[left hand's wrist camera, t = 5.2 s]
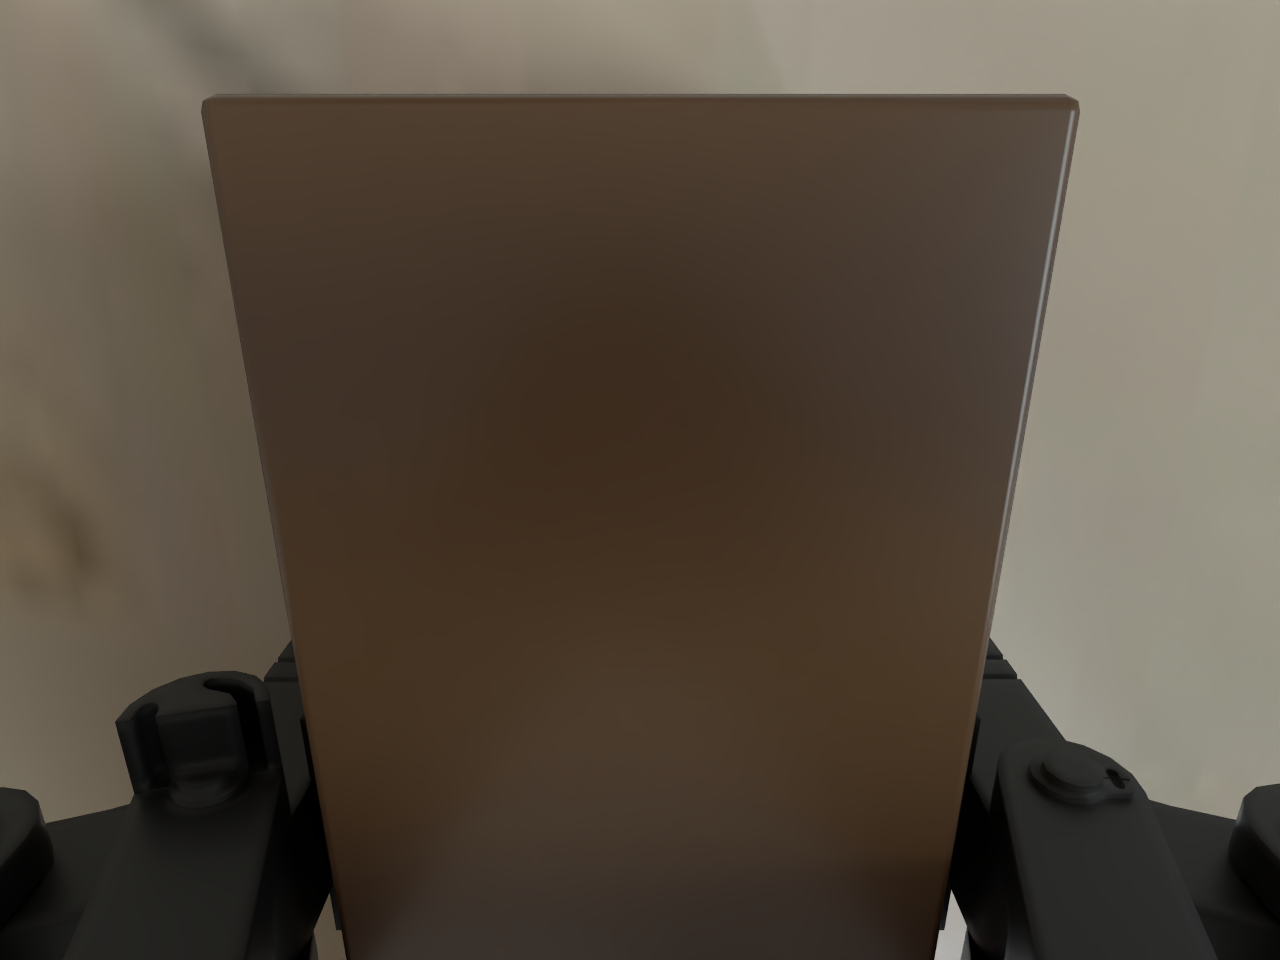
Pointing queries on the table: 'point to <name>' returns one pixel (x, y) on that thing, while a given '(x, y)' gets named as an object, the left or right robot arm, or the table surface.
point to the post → (640, 497)
